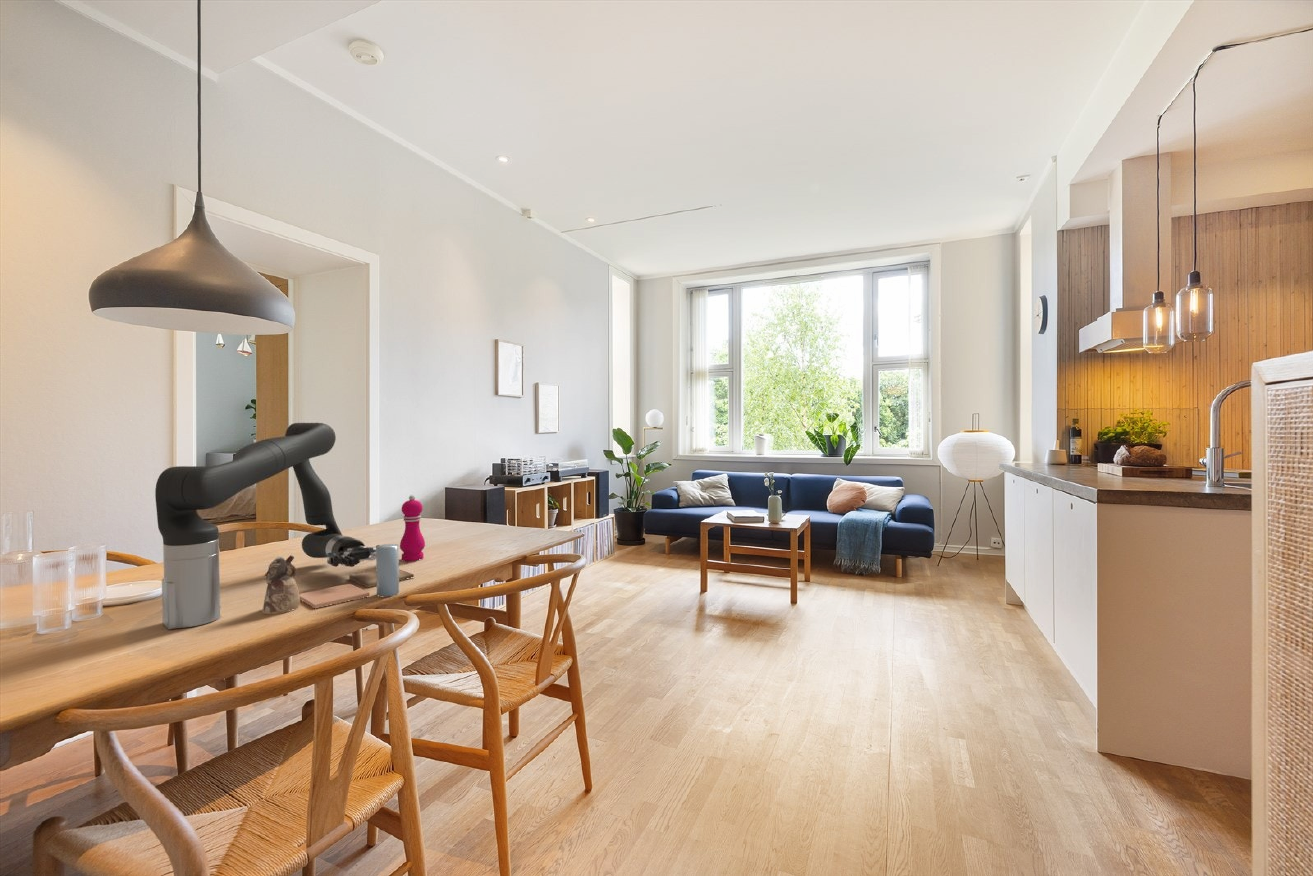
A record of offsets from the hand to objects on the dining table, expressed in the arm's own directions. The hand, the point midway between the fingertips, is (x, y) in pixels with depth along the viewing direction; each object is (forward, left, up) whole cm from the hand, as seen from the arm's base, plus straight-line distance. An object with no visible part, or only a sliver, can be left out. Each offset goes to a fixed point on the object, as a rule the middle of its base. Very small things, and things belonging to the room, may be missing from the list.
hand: (370, 559), depth 148 cm
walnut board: (+5, +5, -7) cm, 10 cm away
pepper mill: (+21, +20, -7) cm, 30 cm away
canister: (0, -10, -7) cm, 12 cm away
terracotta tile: (-10, -3, -7) cm, 13 cm away
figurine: (-21, -3, -7) cm, 22 cm away
